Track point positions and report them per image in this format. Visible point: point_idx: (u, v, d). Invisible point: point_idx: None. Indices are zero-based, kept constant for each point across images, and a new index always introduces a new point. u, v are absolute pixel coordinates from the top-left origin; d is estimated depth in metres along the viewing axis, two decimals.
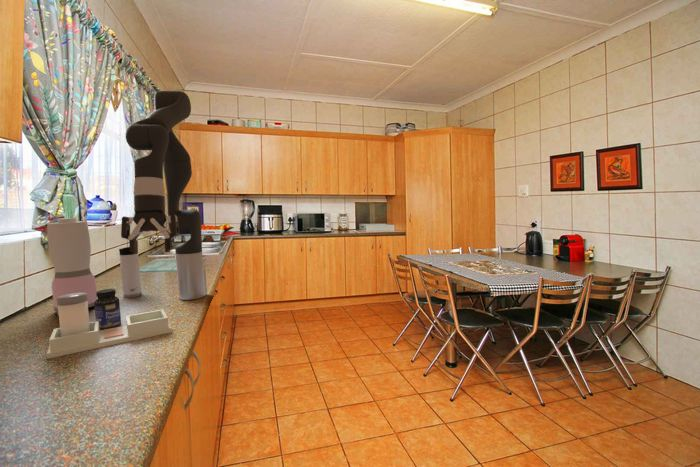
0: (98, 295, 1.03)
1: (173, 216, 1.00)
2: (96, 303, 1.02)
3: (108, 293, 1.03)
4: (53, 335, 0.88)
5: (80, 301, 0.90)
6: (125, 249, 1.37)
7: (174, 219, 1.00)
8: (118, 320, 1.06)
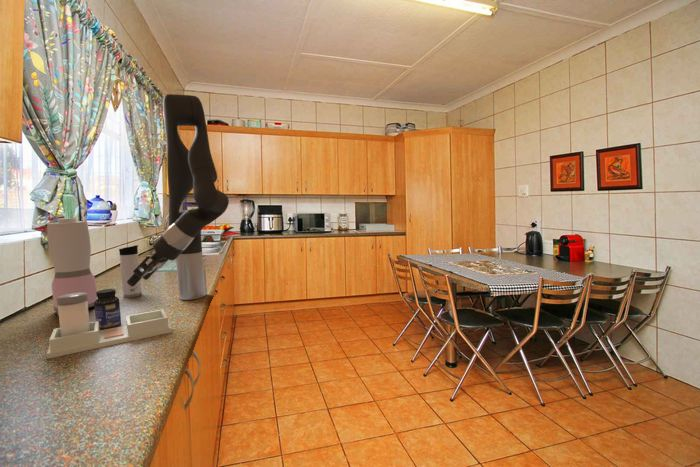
0: (98, 295, 1.03)
1: None
2: (96, 303, 1.02)
3: (108, 293, 1.03)
4: (53, 335, 0.88)
5: (80, 301, 0.90)
6: (125, 249, 1.37)
7: None
8: (118, 320, 1.06)
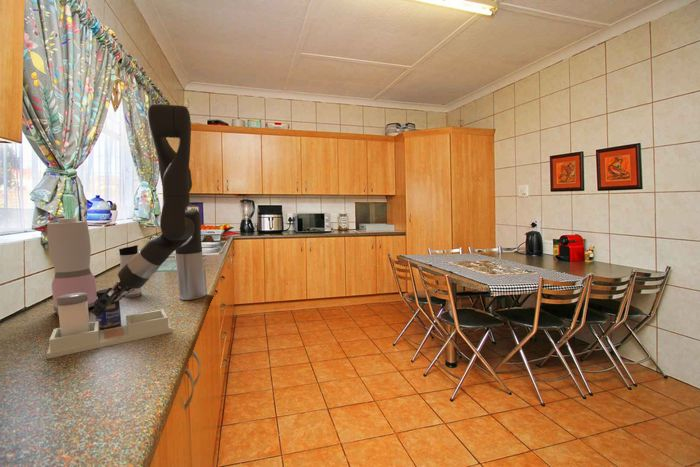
0: (98, 295, 1.03)
1: None
2: (96, 303, 1.02)
3: None
4: (53, 335, 0.88)
5: (80, 301, 0.90)
6: (125, 249, 1.37)
7: None
8: (118, 320, 1.06)
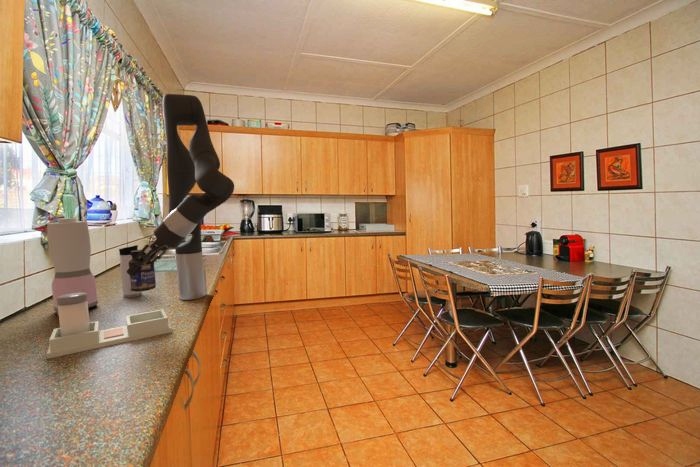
0: (133, 254, 0.97)
1: None
2: (131, 262, 0.97)
3: None
4: (53, 335, 0.88)
5: (80, 301, 0.90)
6: (125, 249, 1.37)
7: None
8: (153, 282, 1.00)
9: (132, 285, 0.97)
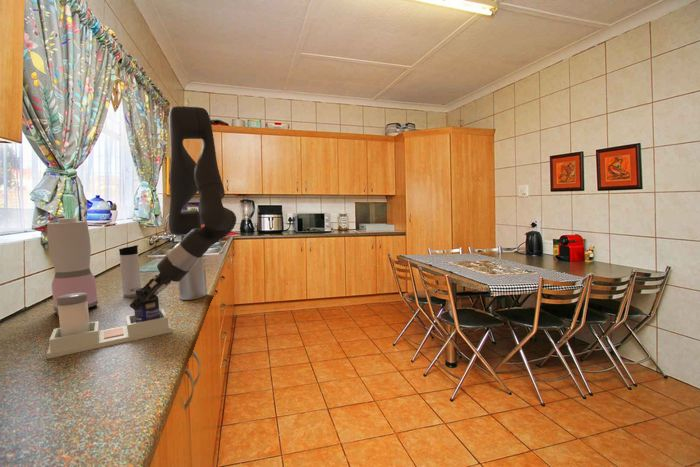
0: None
1: None
2: None
3: None
4: (53, 335, 0.88)
5: (80, 301, 0.90)
6: (125, 249, 1.37)
7: None
8: None
9: None
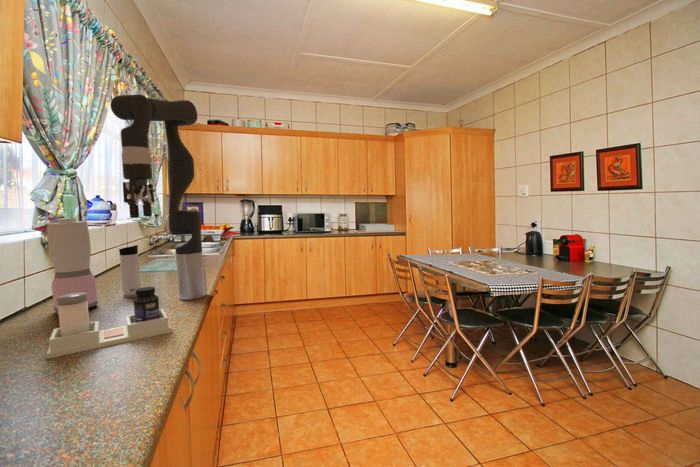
0: (138, 293, 0.98)
1: (152, 185, 1.15)
2: (136, 301, 0.98)
3: (148, 291, 0.99)
4: (53, 335, 0.88)
5: (80, 301, 0.90)
6: (125, 249, 1.37)
7: None
8: None
9: None
